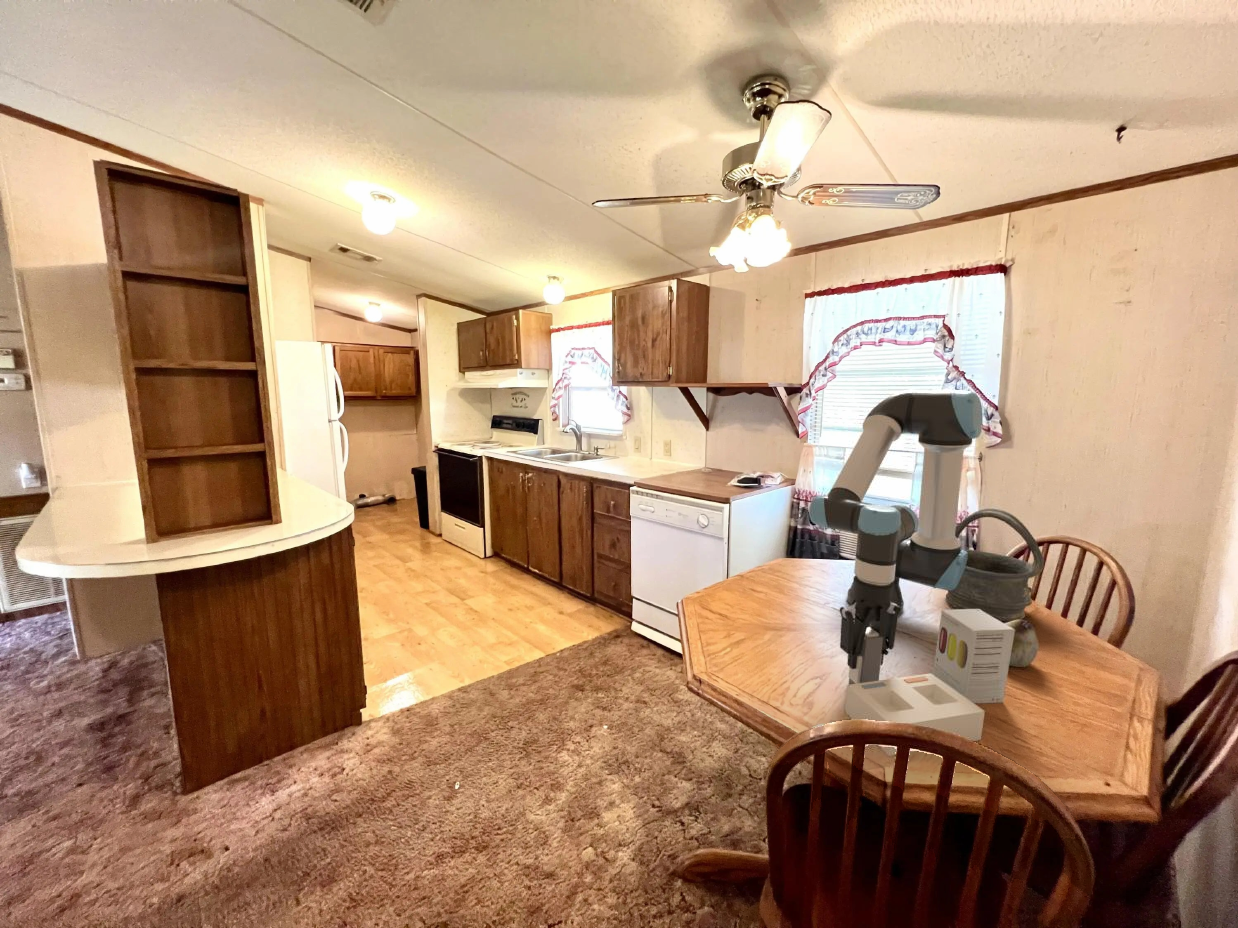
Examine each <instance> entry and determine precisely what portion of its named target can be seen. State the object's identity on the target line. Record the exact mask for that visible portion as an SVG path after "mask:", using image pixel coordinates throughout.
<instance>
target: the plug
mask: <svg viewBox="0 0 1238 928" xmlns="http://www.w3.org/2000/svg"><path fill="white" fill-rule="evenodd" d="M882 643H883V637H882V636H881V635H879V633H877V632H876V631H875V630H873V629H872V627H870V626H869V627H867V630H866V633H865V637H864V640H863V644H862V647H861V651H860V655H861V656H862V667H861V677H860V683H865V682H872V681H879V680H880V676H879V671H880V672H881V666H880V662H881V652H882ZM851 684H855V683H854V682H853V681H852V680H851V679H850V678H849V677H848V685H851Z"/></svg>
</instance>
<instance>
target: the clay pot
mask: <svg viewBox="0 0 1238 928" xmlns="http://www.w3.org/2000/svg"><path fill="white" fill-rule="evenodd" d="M983 518H991V519H997V520H999V521H1001V522H1004V523H1005V524H1007V525H1008V526H1009V527H1011V528H1012V529H1013V530H1014V531H1015V532H1016V533H1018V534H1019V535H1020V536H1021V537H1022V538H1023V540H1024V541H1025V543H1026V545H1027V546H1028V548H1029V549H1030V552H1031V554H1032V556H1033V561H1032V562H1028V561H1025V560H1021V559H1019V558H1015V557H1012V556H1008V555H1003V554H999V553H993V552H988V551H987V552H986V551H982V550H975V549H963V550H964V551H966V552H967V553H968V558H967V562H966V566H965V569H964V572H963V574H962V577H961V579H960V581H959V583H958V585H957V587H956V588H955V589H953V590H951V591H947V593H946V594H945V601H946V602H947V603H948V604H950V605H951V606H952V607H954V608H955V609H980V610H982V611H983V612H985V613H987V614H988V615H990V616H992V617H993V618H995V619H997V620H999V621H1000V622H1003V621H1004V622H1011V621H1014V620H1024V619H1023V618H1025V616H1026V613H1025V609H1026V608H1027V607H1029V606H1031V605H1032V604H1033V600H1032V598H1031V596H1030V595H1031V593H1032V592H1033V589H1032V588H1031V587H1030V586H1029V579H1031V578H1034V577H1036V576H1038V575H1040V574H1041V573H1042V572H1043V571H1044V566H1045V563H1044V557H1043V554H1042V552H1041V549H1040V547H1039V545H1038V543H1037V541H1036V539H1035V538H1034V536H1033V535H1032V534H1031V532H1030V531H1029V529H1028V528H1027V526H1025V525H1024V523H1023V522H1022V521H1021V520H1019V519H1018V518H1017V517H1016V516H1015V515H1013V514H1012V513H1010V512H1008V511H1006V510H1003V509H1000V508H983V509H980V510H978V511H975V512H973V513H971V514H970V515H968V516H966V517H965V518H964V519H963V520H961V521H960V522H959V523H958V524H956V530H955V537H956V538H957V539H958V540H959V537H960V535H961V534H962V532H963V531H964V530H965V528H967V527H968V526H969V525H970V524H971V523H973V522H975V521H976V520H979V519H983Z"/></svg>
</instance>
